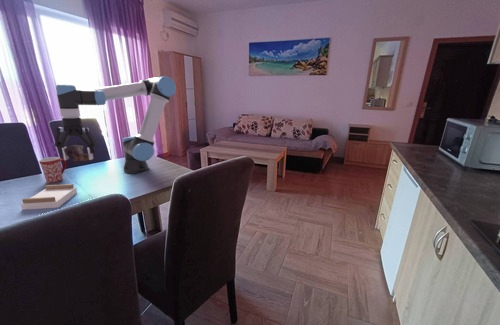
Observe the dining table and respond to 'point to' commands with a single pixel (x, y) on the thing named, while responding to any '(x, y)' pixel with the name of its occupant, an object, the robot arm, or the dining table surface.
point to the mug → (52, 169)
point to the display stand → (50, 197)
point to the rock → (76, 153)
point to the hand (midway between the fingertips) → (79, 159)
